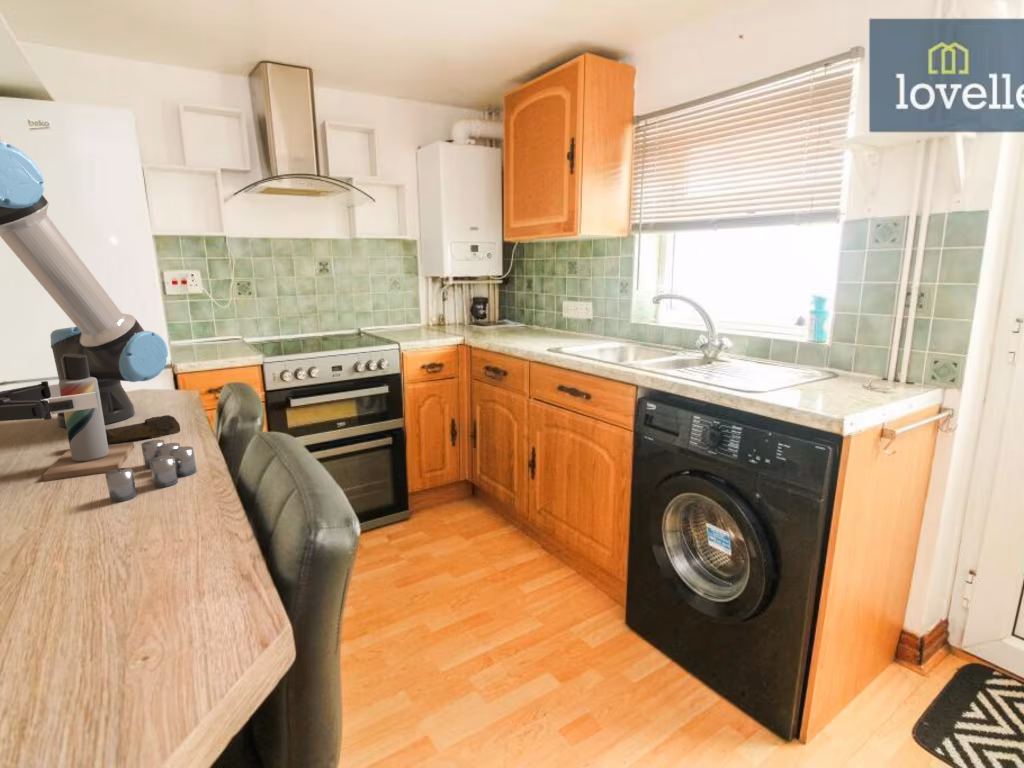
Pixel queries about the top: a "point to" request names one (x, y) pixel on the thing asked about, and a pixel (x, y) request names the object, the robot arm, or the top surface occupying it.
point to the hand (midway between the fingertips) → (94, 392)
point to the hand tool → (144, 429)
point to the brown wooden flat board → (89, 463)
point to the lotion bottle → (83, 411)
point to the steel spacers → (153, 469)
